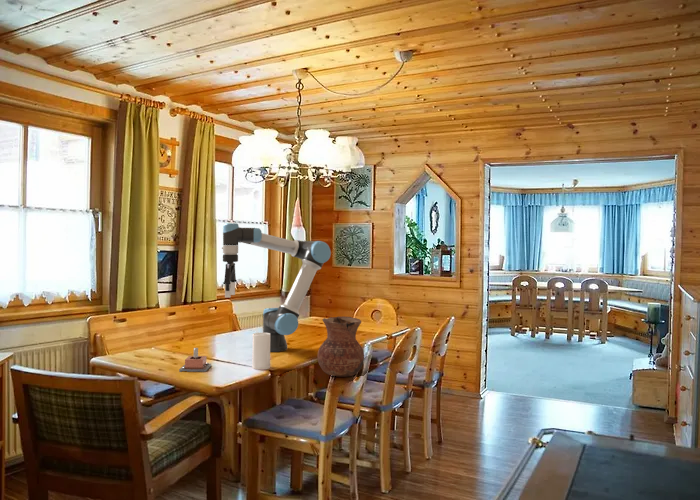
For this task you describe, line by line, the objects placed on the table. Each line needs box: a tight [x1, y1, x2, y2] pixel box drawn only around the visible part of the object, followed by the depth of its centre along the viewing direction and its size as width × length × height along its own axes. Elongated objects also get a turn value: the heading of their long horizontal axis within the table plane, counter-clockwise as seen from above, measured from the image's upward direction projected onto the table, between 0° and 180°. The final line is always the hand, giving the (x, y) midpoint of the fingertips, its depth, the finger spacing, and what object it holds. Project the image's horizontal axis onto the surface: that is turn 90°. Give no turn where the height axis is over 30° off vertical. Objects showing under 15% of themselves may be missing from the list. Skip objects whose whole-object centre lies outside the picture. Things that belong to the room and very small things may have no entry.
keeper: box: [178, 347, 212, 373], centre depth 253 cm, size 12×12×10 cm
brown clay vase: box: [317, 316, 365, 378], centre depth 248 cm, size 22×21×25 cm
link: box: [184, 355, 207, 368], centre depth 253 cm, size 8×8×4 cm
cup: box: [251, 332, 271, 371], centre depth 257 cm, size 8×8×16 cm
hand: (230, 296), depth 274 cm, fingers open, 13 cm apart
